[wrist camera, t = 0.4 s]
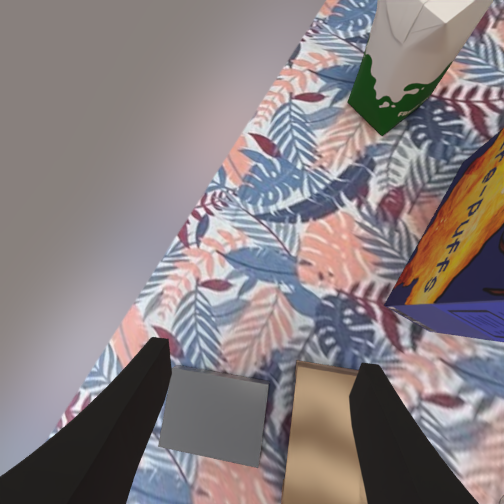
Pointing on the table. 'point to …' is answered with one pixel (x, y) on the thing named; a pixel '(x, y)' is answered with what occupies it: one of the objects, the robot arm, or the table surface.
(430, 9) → the milk carton
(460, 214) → the cereal box
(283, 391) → the table surface
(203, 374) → the slate tile
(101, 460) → the robot arm
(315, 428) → the oak overhang shelf
